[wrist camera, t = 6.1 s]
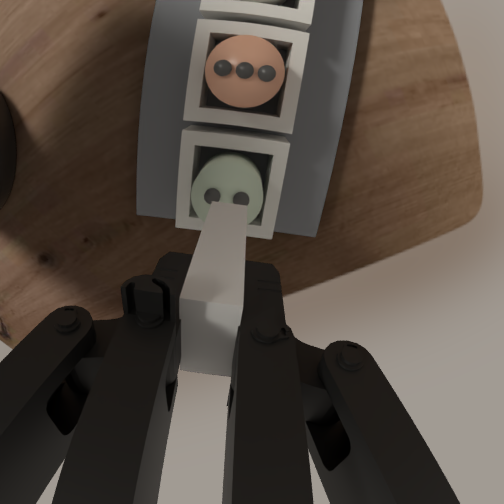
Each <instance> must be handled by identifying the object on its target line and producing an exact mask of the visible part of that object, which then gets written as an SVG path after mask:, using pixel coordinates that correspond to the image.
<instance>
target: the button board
mask: <svg viewBox="0 0 504 504" xmlns="http://www.w3.org/2000/svg"><path fill="white" fill-rule="evenodd" d="M362 6H363V0H286V1H285V2H284V3H283V4H281V5H279V6H277V5H271V4H264V3H257V2H248V1H239V0H156V3H155V8H154V13H153V19H152V24H151V30H150V36H149V42H148V48H147V55H146V62H145V70H144V78H143V86H142V96H141V107H140V119H139V134H138V153H137V193H136V207H137V215H143V216H152V217H161V218H170V219H176V225H175V227H176V228H185V229H193V230H201V231H202V228H203V225H204V223H205V222H203V221H202V220H201V219H200V218H199V217H198V215H197V214H196V212H195V210H194V208H193V205H192V201H191V190H192V186H193V183H194V181H195V179H196V178H197V176H198V174H199V173H200V171H201V169H202V168H203V166H204V165H205V163H206V162H207V161H208V160H209V159H210V158H212V157H213V156H215V155H217V154H220V153H223V152H237V153H240V154H243V155H245V156H247V157H248V158H250V159H251V160H252V161H253V162H254V163H255V164H256V166H257V167H258V169H259V171H260V174H261V180H262V188H263V204H262V207H261V210H260V212H259V214H258V215H257V216H256V218H255V219H254V220H253V221H252V222H250V223H249V224H248V225H247V229H246V236H249V237H257V238H264V239H272V236H273V231H274V232H281V233H288V234H295V235H303V236H310V237H316V234H317V230H318V226H319V222H320V218H321V214H322V211H323V207H324V202H325V198H326V194H327V190H328V186H329V182H330V178H331V173H332V169H333V165H334V160H335V156H336V151H337V147H338V142H339V137H340V133H341V128H342V123H343V118H344V113H345V108H346V103H347V98H348V93H349V87H350V82H351V76H352V71H353V65H354V59H355V53H356V47H357V41H358V34H359V27H360V20H361V13H362ZM238 35H252V36H257V37H260V38H262V39H265V40H266V41H268V42H270V43H271V44H272V45H273V46H274V47H275V48H276V49H277V50H278V51H279V53H280V55H281V57H282V59H283V62H284V66H285V76H284V80H283V83H282V86H281V87H280V89H279V91H278V92H277V93H276V94H275V95H274V96H273V97H272V98H271V99H270V100H268V101H267V102H265V103H263V104H261V105H258V106H255V107H248V108H242V107H235V106H231V105H228V104H226V103H224V102H222V101H221V100H219V99H218V98H217V97H216V96H215V95H214V94H213V93H212V91H211V90H210V88H209V86H208V84H207V82H206V77H205V66H206V62H207V59H208V57H209V55H210V53H211V52H212V50H213V49H214V48H215V47H216V46H217V45H218V44H219V43H221V42H222V41H224V40H226V39H228V38H230V37H234V36H238Z"/></svg>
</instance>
